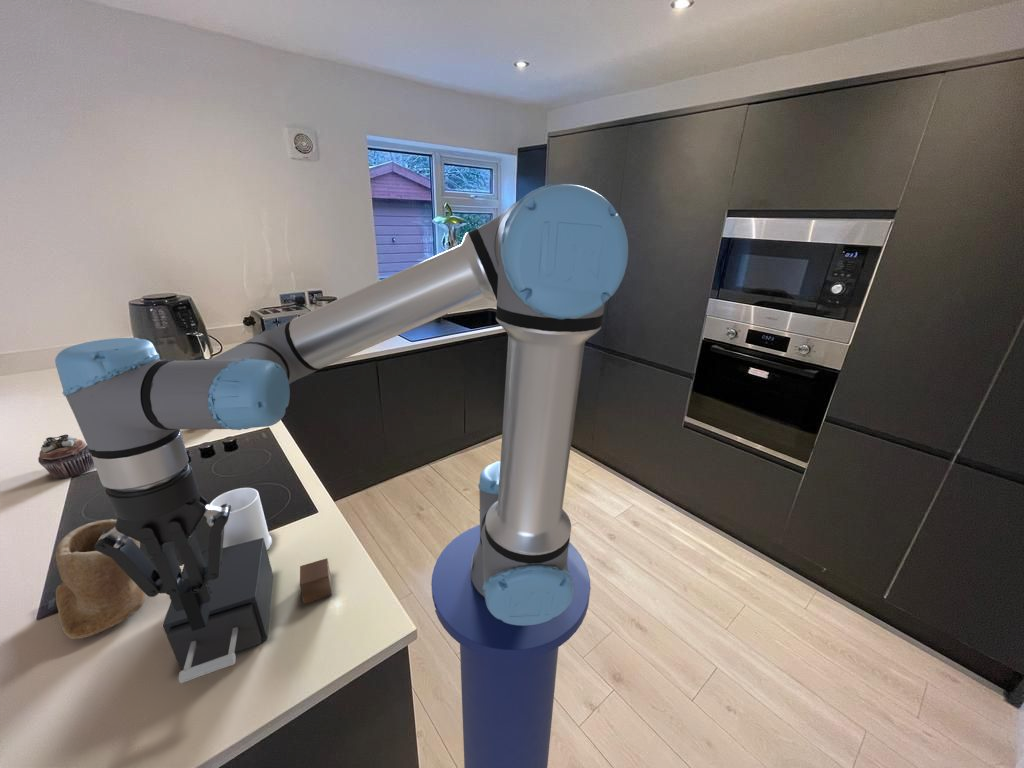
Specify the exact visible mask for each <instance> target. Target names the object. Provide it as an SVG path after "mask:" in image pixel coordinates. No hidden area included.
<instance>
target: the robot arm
mask: <svg viewBox="0 0 1024 768" xmlns="http://www.w3.org/2000/svg"><path fill="white" fill-rule="evenodd" d="M628 261H629V241H628V235H627V231H626V228H625V225H624V222H623V220H622V218H621V216H620V214H619V213H618V212H617V211H616V209H615V207H614V205H612V203H610V202H609V201H608V200H607V198H605V197H604V196H603V195H601V194H600V193H598V192H597V191H595V190H593V189H591V188H588V187H585V186H583V185H578V184H573V183H572V184H571V183H561V184H546V185H543V186H540V187H537V188H536V189H533V190H531V191H530V192H527V194H525V195H524V196H523V197H522V198H519V200H517V201H516V202H514V203H512V204H511V205H510V206H509V207H508V208H507V209H505V210H503V212H502V213H500V214H498V215H497V216H496V217H494V218H493V219H491V220H489V221H488V222H486V223H484V224H483V225H481V226H478V227H477V228H475V229H472V230H471V231H468V232H466V233H465V234H464V236H463V239H462V242H461V244H458V245H456V246H455V247H452V248H450V249H447V250H445V251H443V252H441V253H438V254H436V255H434V256H432V257H430V258H428V259H425V260H422V261H421V262H420V261H419V262H418V263H416V264H413V265H412V266H409V267H407V268H405V269H403V270H400V271H398V272H396V273H393V274H391V275H389V276H387V277H385V278H383V279H380V280H378V281H376V282H374V283H371V284H368V285H367V286H365V287H362V288H360V289H358V290H355V291H353V292H351V293H349V294H346V295H344V296H342V297H340V298H338V299H335V300H333V301H330V302H329V303H327V304H324V305H322V306H320V307H317V308H316V309H313V310H310V311H308V312H306V313H304V314H302V315H300V316H297V317H295V318H293V319H292V320H289V321H286V322H283V323H281V324H280V325H277V326H272V327H270V328H267V329H265V330H263V331H261V332H259V333H257V334H256V335H255V336H253V337H252V338H249V339H247V340H246V341H244V342H242V343H240V344H237V345H236V346H234V347H231V348H230V349H228V350H226V351H224V352H222V353H220V354H218V355H216V356H214V357H212V358H209V359H196V360H195V359H193V360H176V359H175V360H174V359H173V360H170V359H160V358H161V357H160V354H159V353H158V352H157V350H156V348H155V345H154V344H153V342H152V341H150V340H148V339H145V338H139V337H114V338H105V339H97V340H91V341H86V342H82V343H78V344H74V345H71V346H68V347H66V348H64V349H62V350H61V351H60V352H58V353H57V355H56V356H55V359H54V363H55V367H56V370H57V375H58V377H59V381H60V384H61V388H62V392H61V393H62V395H63V397H65V398H66V400H67V402H68V405H69V407H70V409H71V411H72V413H73V415H74V418H75V420H76V422H77V425H78V427H79V430H80V432H81V435H82V436H83V440H84V442H85V443H86V445H87V446H88V449H89V452H90V454H91V456H92V459H93V462H94V464H95V466H94V467H95V469H96V473H97V475H98V477H99V481H100V483H101V485H102V486H103V487H105V494H106V497H107V499H108V501H109V504H110V507H111V508H112V509H111V510H112V511H113V514H114V515H115V516H116V519H117V521H116V523H115V527H114V528H113V529H108V530H105V531H104V532H103V534H102V535H101V537H100V538H99V540H98V541H97V543H96V544H95V546H94V549H95V550H96V551H98V552H100V553H102V554H105V555H107V556H109V557H111V558H112V559H113V560H114V561H115V562H116V563H117V564H118V565H119V566H120V567H121V569H122V570H123V571H124V572H125V573H126V574H127V575H128V576H129V577H130V578H131V579H132V580H133V581H134V582H135V583H136V584H137V586H138V587H139V588H140V589H141V590H142V591H143V592H144V595H146V596H147V597H148V598H154V597H156V596H158V595H159V594H166V595H167V596H169V598H170V602H171V601H172V603H173V607H174V609H175V610H176V611H177V612H178V611H181V610H185V613H186V616H187V618H188V621H189V624H190V626H191V629H192V631H194V630H198V629H201V628H204V627H206V625H207V621H208V617H209V613H210V609H209V606H208V602H209V601H210V598H211V594H212V588H211V585H210V582H209V580H214V579H216V578H218V576H219V573H220V569H221V565H222V556H223V540H224V526H225V524H226V523H227V521H228V518H229V514H230V510H231V506H230V505H229V504H223V505H222V506H221V507H217V506H212V505H210V504H209V503H208V501H207V499H206V498H204V497H203V496H202V495H201V493H200V490H199V486H198V483H197V481H196V476H195V474H194V470H193V468H192V465H191V464H190V462H189V460H190V459H189V455H188V451H187V449H186V445H185V442H184V440H183V434H182V432H181V431H182V430H231V431H232V430H233V431H241V430H249V429H254V428H265V427H266V428H267V427H271V426H274V425H276V424H278V423H279V422H280V421H281V420H282V419H283V418H284V416H285V415H286V409H287V408H288V407H289V404H290V395H291V390H290V389H291V388H290V385H291V384H292V383H293V382H296V381H297V380H299V379H302V378H304V377H307V376H308V375H311V374H313V373H315V372H317V371H320V370H321V369H323V368H326V367H328V366H330V365H333V364H335V363H337V362H339V361H342V360H344V359H346V358H348V357H351V356H353V355H356V354H358V353H360V352H363V351H365V350H367V349H369V348H373V347H375V346H376V345H378V344H382V343H383V342H385V341H388V340H390V339H394V338H395V337H397V336H399V335H403V334H405V333H407V332H408V331H411V330H413V329H415V328H418V327H420V326H423V325H426V324H427V323H430V322H432V321H434V320H437V319H439V318H441V317H444V316H446V315H448V314H450V313H452V312H455V311H457V310H459V309H462V308H464V307H466V306H469V305H471V304H473V303H476V302H478V301H480V300H483V299H487V300H490V301H493V302H496V309H495V310H496V311H495V320H496V322H497V323H498V325H500V327H501V328H502V329H503V330H504V331H505V332H506V334H507V336H508V337H507V339H508V340H507V352H506V353H507V354H506V355H507V356H506V368H505V383H504V384H505V385H504V386H505V387H504V400H503V401H504V402H503V415H502V431H501V432H502V433H501V447H500V448H501V449H500V460H499V461H495V462H493V463H490V464H488V465H487V466H485V467H484V468H483V469H482V471H481V472H480V475H479V483H478V485H477V487H478V489H479V525H480V541H479V543H478V546H477V549H476V551H475V554H474V553H473V555H474V556H472V562H471V582H472V585H473V588H474V589H475V591H476V593H477V594H478V595H479V596H480V597H481V598H482V599H483V600H485V601H486V605H487V608H488V610H489V611H490V613H491V614H492V615H493V616H494V617H496V618H497V619H501V620H502V621H503V622H505V623H508V624H513V625H521V626H525V625H535V624H540V623H543V622H546V621H549V620H551V619H552V618H554V617H556V616H558V615H560V614H561V613H562V612H563V611H564V610H565V609H566V608H567V607H568V606H569V604H570V603H571V600H572V598H573V592H574V590H573V585H572V584H573V578H572V576H571V574H570V573H569V571H568V565H567V555H568V548H569V542H571V541H570V540H571V533H572V523H571V519H570V517H569V515H568V513H567V512H566V510H564V509H563V506H564V498H565V493H566V484H567V477H568V471H569V462H570V455H571V447H572V440H573V432H574V426H575V418H576V410H577V405H578V398H579V397H578V395H579V389H580V380H581V374H582V366H583V359H584V351H585V345H586V342H587V341H588V340H589V339H590V338H591V337H593V336H594V335H596V334H597V333H598V332H599V331H600V330H601V329H602V324H603V317H604V312H605V311H604V310H605V304H606V302H607V301H609V299H611V297H613V296H614V294H615V293H616V292H617V290H618V288H619V287H620V285H621V284H622V282H623V279H624V277H625V273H626V270H627V267H628ZM203 517H205V518H206V523H207V524H208V526H209V527H211V528H210V531H209V539H208V552H209V556H208V566H206V565H205V562H204V559H203V556H202V550H201V547H200V543H199V541H198V538H197V535H196V528H197V527H198V525H199V523H200V521H201V520H202V519H203ZM129 537H131V538H133V539H135V540H137V541H139V542H140V544H144V545H145V549H146V551H147V554H148V555H149V557H150V556H151V557H152V560H153V562H154V563H153V562H152V561H151V560H150V558H149V557H148V556H147V555H146V554H145V553H144V552H143V550H142V549H141V547H140V548H139V547H138V546H137V545H136V544H135V543H134V541H133V540H132V539H130V538H129ZM172 542H173V543H174V546H175V549H176V550H178V552H179V555H180V558H181V561H182V563H183V567H184V566H185V569H186V572H187V574H188V577H189V578H187V579H184V582H183V580H182V579H183V576H184V573H185V572H183V574H182V569H181V566H180V563H179V560H178V558H177V555H176V552H175V549H174V547H173V544H172Z"/></svg>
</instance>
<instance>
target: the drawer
mask: <svg viewBox="0 0 1024 768" xmlns="http://www.w3.org/2000/svg"><path fill="white" fill-rule="evenodd" d="M167 636H168V638H167V640H168V639H169V640H168V642H169V641H170V642H169V644H170V643H171V645H170V647H171V646H172V647H171V649H172V648H173V650H172V652H173V651H174V652H173V654H174V653H175V654H174V656H175V655H176V657H175V659H176V658H177V659H176V661H177V660H178V662H177V664H178V663H179V664H178V666H179V665H180V666H179V668H180V667H181V669H180V671H179V673H178V683H179V684H183V683H186V682H188V681H191V680H194V679H196V678H199V677H202V676H205V675H207V674H211V673H213V672H216V671H220V670H221V669H224V668H227V667H230V666H233V665H235V664H236V661H237V659H236V653H238V652H241V651H243V650H246V649H248V648H252V647H254V646H257V645H260V644H261V643H262V641H261V639H262V636H261V633H260V629H259V626H258V622H257V619H256V616H255V612H254V609H253V605H252V603H247V604H244V605H241V606H237V607H234V608H231V609H228V610H225V611H221V612H218V613H215V614H212V615H209V617H208V621H207V625H206V627H204V628H201V629H198V630H194V631H192V629H191V626H190V624H189V622H186V623H183V624H181V625H180V626H177V627H173V628H170V629H169V632H168V635H166V637H167Z"/></svg>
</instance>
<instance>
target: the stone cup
mask: <svg viewBox="0 0 1024 768" xmlns="http://www.w3.org/2000/svg"><path fill="white" fill-rule="evenodd" d="M116 521H117V518H116V519H112V518H111V519H102V520H96V521H93V522H88V523H86V524H83V525H81V526H79V527H77V528H75V529H73V530H71V531H70V532H69V533H67V534H66V535H65V536H64V537H63V538H62V539H60V541H59V543H58V544H57V545H56V548H55V560H56V566H57V570H58V573H59V577H60V579H61V581H62V583H60V584H59V585H57V587H56V589H55V603H56V607H57V608H56V609H57V610H58V618H59V623H60V626H61V628H62V632H63V633H64V635H65V636H66V637H68V638H69V639H71V640H80V639H81V640H82V639H85V638H88V637H91V636H94V635H97V634H99V633H101V632H104V631H106V630H108V629H110V628H112V627H114V626H116V625H118V624H119V623H121V622H123V621H124V620H127V619H128V618H129V617H131V615H132V614H133V613H135V612H136V611H138V610H140V609H141V608H142V606H143V604H144V601H145V600H144V599H145V593H144V592H143V591H142V590H141V589H140V588H139V587H138V586H137V584H136V583H135V582H134V581H133V580H132V579H131V578H130V577H129V576H128V575H127V574H126V573H125V572H124V571H123V570H122V569H121V567H120V566H119V565H118V564H117V563H116V562H115V561H114V560H113V559H112V558H111V557H109V556H107V555H105V554H102V553H100V552H98V551H96V550H95V549H94V546H95V544H96V543H97V541H98V540H99V538H100V537H101V535H102V534H103V532H104V531H105V530H108V529H113V528H114V527H115V523H116ZM129 538H130V539H132V540H133V541H134V543H135V544H136V545H137V546H138V547H139V548H140V549H141V542H139V541H137V540H135V539H133V538H131V537H129Z"/></svg>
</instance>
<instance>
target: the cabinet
mask: <svg viewBox="0 0 1024 768" xmlns="http://www.w3.org/2000/svg"><path fill="white" fill-rule="evenodd" d="M201 553H202V552H201ZM202 556H203V559H204V562H205V565H206V566H208V556H209V551H206V552H203V553H202ZM181 572H182V574H183V572H185V573H184V576H183V579H182V580H183V582H184V579H187V578H189V577H188V574H187V572H186V569H185V566H184V565H183V567H182V569H181ZM209 582H210V585H211V588H212V594H211V598H210V601H209V602H208V606H209V609H210V613H209V615H212V614H215V613H218V612H221V611H225V610H228V609H231V608H234V607H237V606H241V605H244V604H247V603H252V605H253V609H254V612H255V616H256V619H257V622H258V626H259V629H260V633H261V636H262V639H261V642H263V641H266V640H268V636H269V626H270V625H269V624H270V617H271V605H272V597H273V596H272V595H273V583H274V573H273V568H272V565H271V561H270V558H269V553H268V550H267V549H266V545H265V542H264V538H260V539H256V540H252V541H249V542H245V543H241V544H237V545H233V546H229V547H225V548H223V556H222V565H221V569H220V573H219V576H218V578H216V579H214V580H209ZM186 622H189V621H188V618H187V616H186V613H185V610H181V611H178V612H177V611H176V610H175V609H174V607H173V603H172V601H171V600H170V604H169V607H168V609H167V612H166V615H165V618H164V620H163V623H162V628H163V630H164V633H165V635H166V638H167V640H168V643H169V645H170V647H171V650H172V652H173V654H174V657H175V659H176V662H177V664H178V667H179V669H180V670H181V667H180V665H179V663H178V660H177V658H176V655H175V653H174V651H173V648H172V646H171V643H170V641H169V639H168V636H167V635H168V632H169V629H170V628H173V627H177V626H180V625H181V624H183V623H186Z"/></svg>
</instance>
